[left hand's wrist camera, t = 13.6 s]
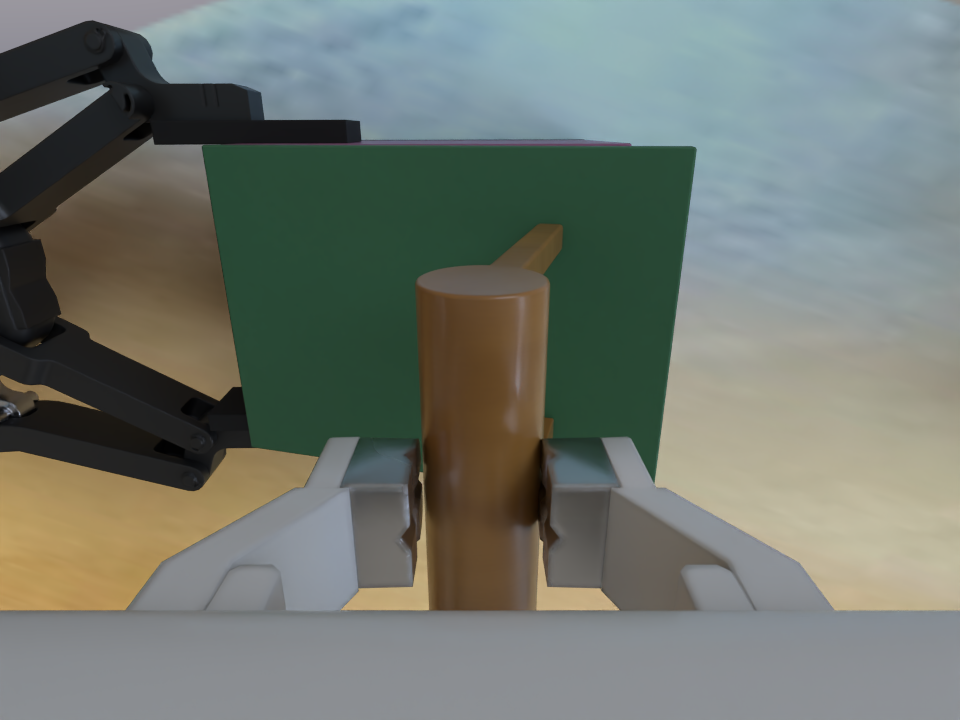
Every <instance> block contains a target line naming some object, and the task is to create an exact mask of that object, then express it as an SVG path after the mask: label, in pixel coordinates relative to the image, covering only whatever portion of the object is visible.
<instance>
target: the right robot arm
mask: <svg viewBox="0 0 960 720" xmlns="http://www.w3.org/2000/svg"><path fill="white" fill-rule="evenodd" d="M152 55H153V53H152V49H151V46H150V44H149V43H148V41H147V40H146V39H145V38H144V37H143V36H141V35H140V34H137V33H133V32H131V31H127V30H124V29H121V28H117V27H114V26H110V25H107V24H103V23H99V22H96V21H85V22H82V23H80V24H77V25H74V26H72V27H69V28H67V29H64V30H61V31H59V32H56V33H53V34H51V35H48V36H45V37H43V38H40V39H37V40H35V41H32V42H30V43H27V44H24V45H22V46H19V47H16V48H14V49H11V50H8V51H6V52H3V53H0V122H1V121H4V120H6V119H9V118H12V117H15V116H17V115H20V114H23V113H26V112H28V111H31V110H34V109H36V108H39V107H42V106H45V105H47V104H50V103H53V102H56V101H58V100H61V99H64V98H67V97H69V96H72V95H75V94H78V93H80V92H83V91H86V90H88V89H91V88H94V87H97V86H99V85H103V86H104V87H108V88H109V89H110V90H109V91H107V92H106V93H105V94H104V95H102V96H101V97H100V98H98V99H97V100H96V101H94V102H93V103H92V104H90V105H89V106H88V107H86V108H85V109H84V110H82V111H81V112H80V113H79V114H77V115H76V116H75V117H73V118H72V119H71V120H69V121H68V122H67V123H65V124H64V125H63V126H61V127H60V128H59V129H57V130H56V131H55V132H54V133H52V134H51V135H50V136H48V137H47V138H46V139H44V140H43V141H42V142H40V143H39V144H38V145H36V146H35V147H34V148H33V149H31V150H30V151H29V152H27V153H26V154H25V155H23V156H22V157H21V158H19V159H18V160H17V161H15V162H14V163H13V164H11V165H10V166H9V167H8V168H6V169H5V170H4V171H2V172H1V173H0V376H1V375H4V376H6V377H8V378H10V379H12V380H15V381H17V382H19V383H22V384H26V385H46V386H48V387H50V388H53V389H55V390H57V391H59V392H61V393H64V394H66V395H68V396H70V397H72V398H75V399H77V400H79V401H81V402H83V403H86V404H88V405H90V406H92V407H94V408H96V409H99V410H101V411H98V410H94V409H90V408H86V407H82V406H78V405H74V404H70V403H65V402H60V401H50V400H39V397H38V395H37V394H36V393H35V392H33V391H27V392H26V393H23V392H19V391H13V390H11V389H8V388H7V387H6V386H4V385H3V384H2V382H1V381H0V452H11V451H21V452H25V453H30V454H34V455H38V456H42V457H47V458H51V459H55V460H60V461H64V462H68V463H72V464H77V465H81V466H85V467H89V468H94V469H98V470H102V471H107V472H111V473H115V474H119V475H124V476H128V477H132V478H136V479H141V480H145V481H149V482H153V483H158V484H162V485H166V486H171V487H175V488H179V489H183V490H188V491H196V490H199V489H200V488H201V487H203V485H204V484H205V483H206V481H207V480H208V479H209V477H210V476H211V475H212V473H213V472H214V471H215V469H216V468H217V467H218V465H219V464H220V463H221V461H222V460H223V459H224V457H225V455H226V448H255V447H252V445H251V439H250V433H249V427H248V421H247V415H246V409H245V403H244V397H243V391H242V387H233V388H232V389H231V390H230V391H229V392H228V393H227V394H226V395H225V396H224V397H223V398H222V399H221V400H220V401H218V400H215V399H213V398H211V397H209V396H207V395H205V394H203V393H201V392H199V391H197V390H195V389H193V388H190V387H188V386H186V385H184V384H182V383H180V382H178V381H176V380H174V379H172V378H170V377H167V376H165V375H163V374H161V373H159V372H157V371H155V370H153V369H151V368H149V367H147V366H144V365H142V364H140V363H138V362H136V361H134V360H132V359H130V358H128V357H126V356H124V355H122V354H119V353H117V352H115V351H113V350H111V349H109V348H107V347H105V346H103V345H101V344H99V343H96V342H94V341H93V340H91V339H90V337H89V333H88V332H87V331H86V330H84V329H82V328H80V327H78V326H76V325H74V324H72V323H70V322H68V321H66V320H64V319H62V318H59V317H57V316H58V315H60V314H61V311H60V308H59V304H58V301H57V297H56V295H55V293H54V291H53V290H52V288H51V286H50V284H49V282H48V281H47V279H46V258H45V254H44V250H43V247H42V243H41V240H40V239H33V238H32V236H31V235H30V234H29V231H30V230H32V229H33V228H34V227H36V226H37V225H39V224H40V223H41V222H43V221H44V220H45V219H47V218H48V217H50V216H51V215H52V214H54V213H55V212H56V207H57V206H58V205H60V204H61V203H63V202H64V201H65V200H67V199H68V198H69V197H71V196H72V195H74V194H75V193H76V192H78V191H79V190H80V189H82V188H83V187H85V186H86V185H87V184H89V183H90V182H91V181H93V180H94V179H96V178H97V177H98V176H100V175H101V174H102V173H104V172H105V171H106V170H108V169H109V168H111V167H112V166H113V165H115V164H116V163H117V162H119V161H120V160H122V159H123V158H124V157H126V156H127V155H128V154H130V153H131V152H133V151H134V150H135V149H137V148H138V147H139V146H141V145H142V144H144V143H145V142H146V141H148V140H149V139H150V138H152V137H153V139H154V144H155V145H185V144H244V143H355V142H361V131H360V121H353V120H264V113H263V105H262V97H261V92H258V91H256V90H253V89H251V88H248V87H246V86H241V85H236V84H169V83H168V82H167V81H165V80H164V79H163V78H162V77H161V76H160V74H159V73H158V71H157V69H156V67H155V66H154V64H153V62H152ZM39 343H41V344H39ZM37 344H39V345H37ZM36 345H37V346H36ZM102 411H103V412H102Z"/></svg>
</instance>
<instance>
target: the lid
mask: <svg viewBox="0 0 960 720" xmlns="http://www.w3.org/2000/svg"><path fill="white" fill-rule="evenodd" d="M696 150H697V149H696V148H695V147H693V146H483V145H203V146H202V151H203V157H204V163H205V169H206V175H207V181H208V187H209V193H210V199H211V205H212V211H213V217H214V223H215V229H216V235H217V241H218V247H219V253H220V259H221V265H222V271H223V277H224V283H225V289H226V295H227V301H228V307H229V313H230V319H231V325H232V331H233V337H234V343H235V349H236V355H237V361H238V367H239V373H240V379H241V385H242V391H243V397H244V403H245V409H246V415H247V421H248V427H249V433H250V439H251V445H252V447H255V448H262V449H269V450H275V451H282V452H289V453H296V454H303V455H309V456H316V457H320V455H321V453H322V451H323V449H324V447H325V445H326V443H327V441H328V439H329V438H333V437H360V438H362V437H369V438H419V441H420V451H421V466H420V472H423V478H424V501H425V523H426V546H427V569H428V591H429V610H536V603H537V580H538V556H539V527H538V505H539V490H540V486H541V481H542V478H541V472H540V457H541V439H546V438H588V437H600V438H607V437H629V438H631V440H632V442H633V443H634V445H635V447H636V449H637V451H638V453H639V455H640V457H641V459H642V461H643V463H644V465H645V467H646V469H647V471H648V473H649V475H650V477H651V479H652V481H653V483H655V475H656V468H657V460H658V452H659V444H660V436H661V428H662V420H663V412H664V404H665V396H666V388H667V380H668V372H669V364H670V357H671V349H672V341H673V333H674V325H675V317H676V309H677V301H678V293H679V285H680V277H681V269H682V261H683V253H684V246H685V238H686V230H687V222H688V214H689V206H690V198H691V190H692V182H693V174H694V166H695V158H696Z"/></svg>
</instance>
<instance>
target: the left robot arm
mask: <svg viewBox="0 0 960 720" xmlns="http://www.w3.org/2000/svg"><path fill="white" fill-rule="evenodd" d="M420 466H421V451H420V441H419V438H369V437H362V438H360V437H333V438H329V439H328V441H327V443H326V445H325V447H324V449H323V451H322V453H321V455H320V457H319V459H318V461H317V463H316V465H315V467H314V469H313V471H312V473H311V474H310V476H309V478H308V480H307V482H306V484H305V486H304V488H294V489H292V490H290V491H288V492H287V493H285V494H283V495H281V496H279V497H278V498H276V499H274V500H272V501H270V502H269V503H267V504H265V505H263V506H261V507H260V508H258V509H256V510H254V511H253V512H251V513H249V514H247V515H245V516H244V517H242V518H240V519H238V520H236V521H235V522H233V523H231V524H229V525H227V526H226V527H224V528H222V529H220V530H218V531H217V532H215V533H213V534H211V535H209V536H208V537H206V538H204V539H202V540H200V541H199V542H197V543H195V544H193V545H191V546H190V547H188V548H186V549H184V550H183V551H181V552H179V553H177V554H175V555H174V556H172V557H170V558H168V559H166V560H165V561H163V562H161V564H160V565H159V566H158V568H157V569H156V570H155V572H154V573H153V574H152V576H151V577H150V578H149V580H148V581H147V582H146V584H145V585H144V586H143V588H142V589H141V590H140V592H139V593H138V594H137V596H136V597H135V598H134V600H133V601H132V602H131V604H130V605H129V606H128V608H127V609H126V610H0V720H960V611H835V610H834V609H833V608H832V606H831V605H830V603H829V602H828V601H827V599H826V598H825V597H824V595H823V594H822V593H821V591H820V590H819V589H818V587H817V586H816V585H815V583H814V582H813V581H812V579H811V578H810V577H809V575H808V574H807V573H806V571H805V570H804V568H803V567H802V566H801V564H800V563H798V562H797V561H795V560H793V559H791V558H790V557H788V556H786V555H784V554H782V553H781V552H779V551H777V550H775V549H773V548H772V547H770V546H768V545H766V544H764V543H763V542H761V541H759V540H757V539H756V538H754V537H752V536H750V535H748V534H747V533H745V532H743V531H741V530H739V529H738V528H736V527H734V526H732V525H731V524H729V523H727V522H725V521H723V520H722V519H720V518H718V517H716V516H714V515H713V514H711V513H709V512H707V511H706V510H704V509H702V508H700V507H698V506H697V505H695V504H693V503H691V502H689V501H688V500H686V499H684V498H682V497H680V496H679V495H677V494H675V493H673V492H672V491H670V490H668V489H666V488H656V487H655V485H654V483H653V481H652V479H651V477H650V475H649V473H648V471H647V469H646V467H645V465H644V463H643V461H642V459H641V457H640V455H639V453H638V451H637V449H636V447H635V445H634V443H633V442H632V440H631V438H629V437H607V438H600V437H588V438H546V439H541V457H540V472H541V478H542V481H541V486H540V490H539V505H538V527H539V535H540V539H541V540H542V541H543V562H544V568H545V575H546V581H547V587H575V588H602V589H601V591H602V592H603V593H604V594H605V595H606V596H607V597H608V598H609V599H610V600H611V601H612V602H613V603H614V604H615V605H616V606H617V607H618V608H619V610H620V611H619V610H618V611H616V610H615V611H609V610H608V611H606V610H605V611H604V610H602V611H601V610H341V609H342V608H343V607H344V606H345V605H346V604H347V603H348V602H349V600H350V599H351V598H352V597H353V596H354V595H355V594H356V593H357V592H358V588H384V587H413V581H414V575H415V568H416V562H417V541H418V540H419V539H420V535H421V527H422V511H423V495H422V484H421V482H420V481H419V480H418V478H419V472H420Z"/></svg>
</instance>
